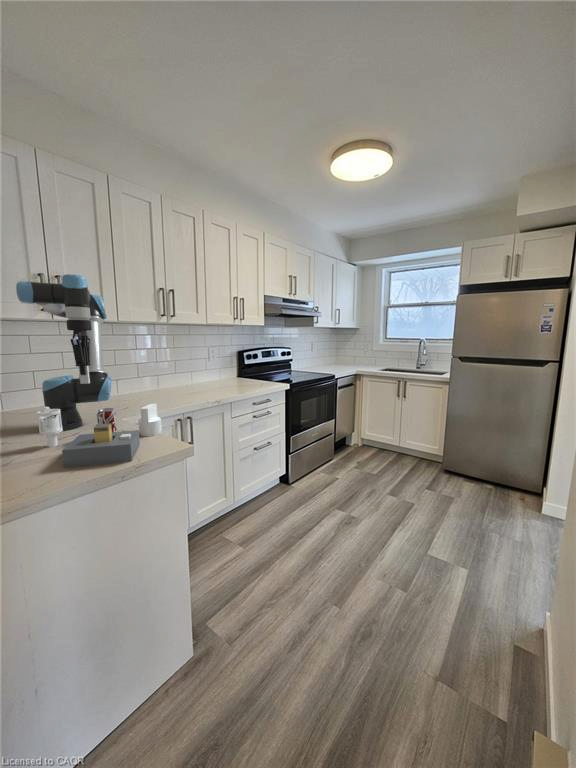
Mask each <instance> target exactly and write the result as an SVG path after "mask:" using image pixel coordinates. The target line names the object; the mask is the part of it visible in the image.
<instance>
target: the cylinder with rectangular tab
mask: <svg viewBox="0 0 576 768" xmlns="http://www.w3.org/2000/svg"><path fill="white" fill-rule="evenodd" d="M138 430H139V436H141V435H143V436H142V437H150V436H149V435H153V436H155V435H154V434H157V433H158V434H157V435H161V434H162V430H163V429H162V418H161V417H159V416H158V404H157V403H149V404H147V405H145V406H143V407H140V419H138Z"/></svg>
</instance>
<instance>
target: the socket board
mask: <svg viewBox="0 0 576 768" xmlns="http://www.w3.org/2000/svg"><path fill="white" fill-rule="evenodd" d="M112 439H113V441H111V442H99V443H95V437H94V433H86V434H85V433H84V434H82V433H81V434H78V435H77V436H76V437H75V438H74V439H73V440H72V441H70V442H69V443H68V444H67V445H66V446H65V447H64V448H63V449H61V452H62V453H61V454H62V461H63V468H75V467H83V466H93V465H105V464H115V463H124V462H132V461H133V460H134V457H135V455H136V453H137V452H138V450H139V447H140V446H139V445H141V443H140V442H141V441H140V434H139V429H137V430H135V429H134V430H124V431H123V430H122V431H117V432H112Z"/></svg>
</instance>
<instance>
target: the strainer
mask: <svg viewBox="0 0 576 768" xmlns="http://www.w3.org/2000/svg"><path fill="white" fill-rule="evenodd" d="M49 412H50V413H49ZM56 414H58V415H57V416H56V417H54V416H52V417H51V415H56ZM36 416H37V424H38V430H39V435H41V436H46V439H47V446H48V448H54V447H57V445H58V446H59V444H58V442H59V441H58V434H59V433H62V432H63V429H62V421H61V412H60V409H50V408H49V407H45V406H44V407H43V409H42V410H39V411H36ZM47 417H50V418H47ZM44 419H45V420H44ZM43 421H44V422H43Z"/></svg>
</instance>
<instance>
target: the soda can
mask: <svg viewBox="0 0 576 768" xmlns="http://www.w3.org/2000/svg"><path fill="white" fill-rule="evenodd" d="M96 419H97V421H96V422H97V424H108V423H111V428H112V432H118V423H117V413H116V412H115V410H114V408H113V407H105V408H100V409H98V410H97V414H96Z"/></svg>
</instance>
